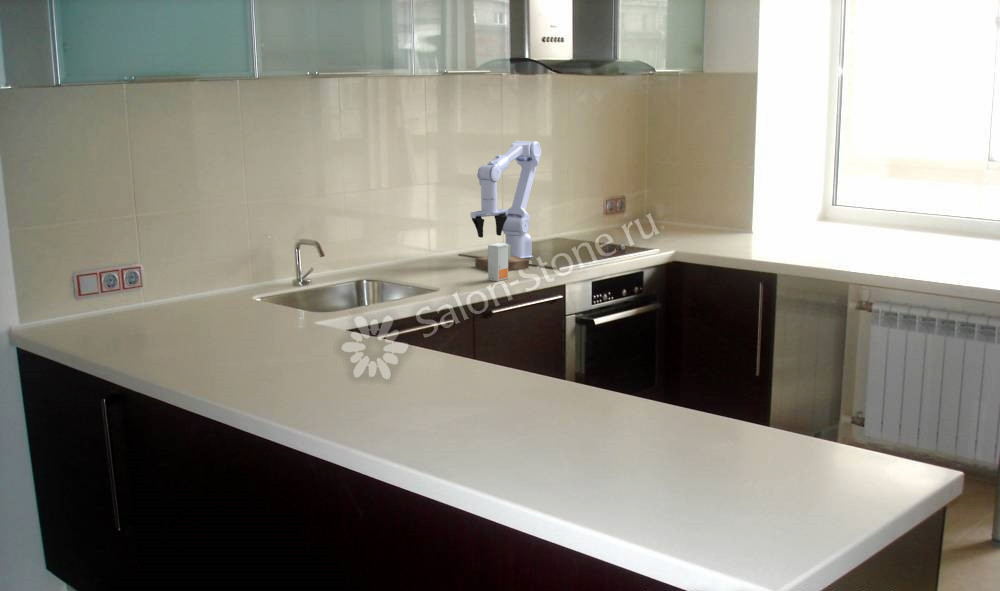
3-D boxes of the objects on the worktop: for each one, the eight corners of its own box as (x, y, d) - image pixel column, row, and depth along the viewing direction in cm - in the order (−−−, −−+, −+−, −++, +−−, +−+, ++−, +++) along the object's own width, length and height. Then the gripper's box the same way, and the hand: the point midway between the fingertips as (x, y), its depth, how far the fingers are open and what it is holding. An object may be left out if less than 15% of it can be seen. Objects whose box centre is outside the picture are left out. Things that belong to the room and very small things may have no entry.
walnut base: (508, 262, 366) (508, 254, 365) (528, 268, 354) (528, 260, 353) (475, 266, 359) (475, 258, 358) (494, 272, 347) (494, 264, 346)
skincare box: (497, 281, 332) (497, 246, 329) (487, 280, 334) (487, 245, 331) (508, 278, 336) (508, 243, 334) (498, 277, 339) (498, 242, 336)
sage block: (504, 257, 359) (503, 243, 358) (510, 259, 355) (510, 245, 354) (493, 258, 356) (493, 244, 355) (499, 260, 353) (499, 246, 352)
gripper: (477, 201, 350) (477, 239, 353) (512, 198, 357) (512, 235, 360) (467, 199, 356) (468, 236, 359) (502, 196, 363) (502, 233, 366)
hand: (489, 236), depth 360 cm, fingers open, 7 cm apart
